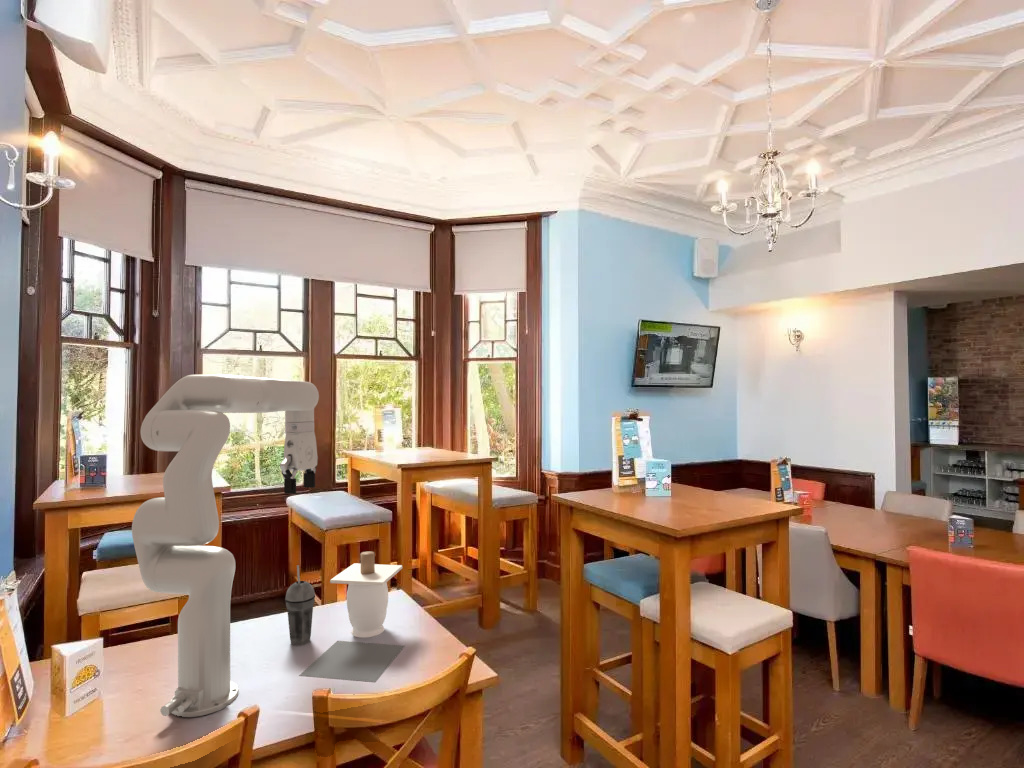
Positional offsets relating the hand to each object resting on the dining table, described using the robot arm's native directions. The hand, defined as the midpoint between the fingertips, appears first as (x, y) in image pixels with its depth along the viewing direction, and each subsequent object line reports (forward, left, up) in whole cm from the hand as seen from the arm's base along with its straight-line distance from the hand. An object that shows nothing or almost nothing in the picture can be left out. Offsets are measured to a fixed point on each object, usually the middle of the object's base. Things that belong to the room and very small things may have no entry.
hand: (300, 490), depth 158 cm
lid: (-3, -21, -21) cm, 30 cm away
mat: (-19, -25, -36) cm, 48 cm away
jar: (-3, -21, -36) cm, 42 cm away
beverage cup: (-12, -7, -36) cm, 39 cm away
